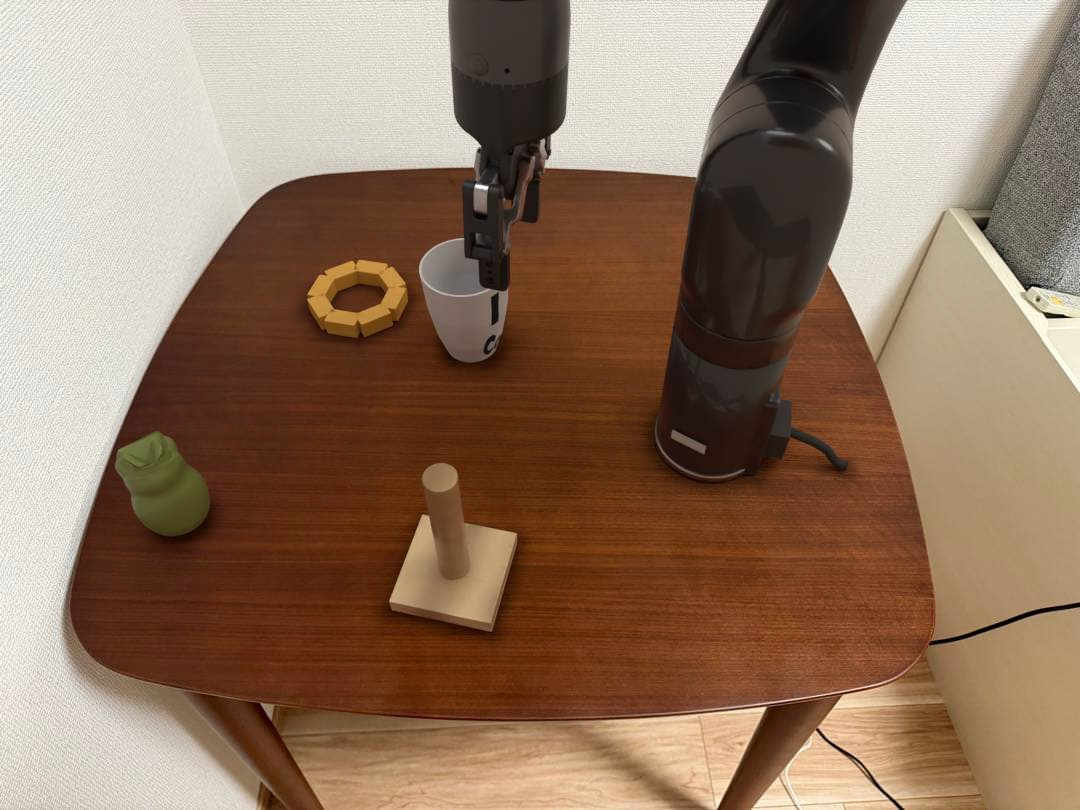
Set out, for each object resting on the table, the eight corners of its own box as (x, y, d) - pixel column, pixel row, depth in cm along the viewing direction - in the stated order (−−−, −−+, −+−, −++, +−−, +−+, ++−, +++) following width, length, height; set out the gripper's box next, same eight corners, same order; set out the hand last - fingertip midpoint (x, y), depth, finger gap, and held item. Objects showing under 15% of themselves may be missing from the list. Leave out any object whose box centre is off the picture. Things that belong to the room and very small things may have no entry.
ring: (418, 281, 88) (416, 268, 86) (387, 343, 82) (384, 330, 80) (334, 268, 89) (331, 255, 88) (298, 328, 83) (293, 315, 82)
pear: (163, 560, 66) (114, 489, 58) (141, 515, 69) (90, 442, 61) (229, 524, 68) (189, 452, 60) (204, 482, 71) (163, 408, 63)
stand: (517, 542, 67) (512, 441, 57) (491, 632, 62) (481, 539, 51) (424, 523, 68) (402, 421, 58) (391, 610, 63) (361, 515, 53)
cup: (501, 379, 78) (497, 302, 71) (420, 367, 79) (407, 289, 72) (520, 321, 84) (517, 243, 76) (443, 310, 85) (433, 233, 77)
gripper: (537, 117, 47) (533, 322, 59) (592, 8, 55) (578, 206, 68) (413, 97, 48) (434, 302, 60) (486, -7, 57) (491, 191, 69)
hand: (510, 251), depth 64 cm, fingers open, 8 cm apart
